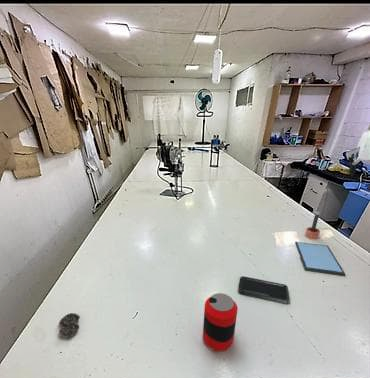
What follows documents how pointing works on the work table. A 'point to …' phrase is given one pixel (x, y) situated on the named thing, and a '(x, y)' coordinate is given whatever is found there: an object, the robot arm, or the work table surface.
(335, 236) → the work table surface
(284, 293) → the phone
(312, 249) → the tablet
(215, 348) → the soda can
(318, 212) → the stylus
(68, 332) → the corroded twin loop
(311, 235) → the pen cup
